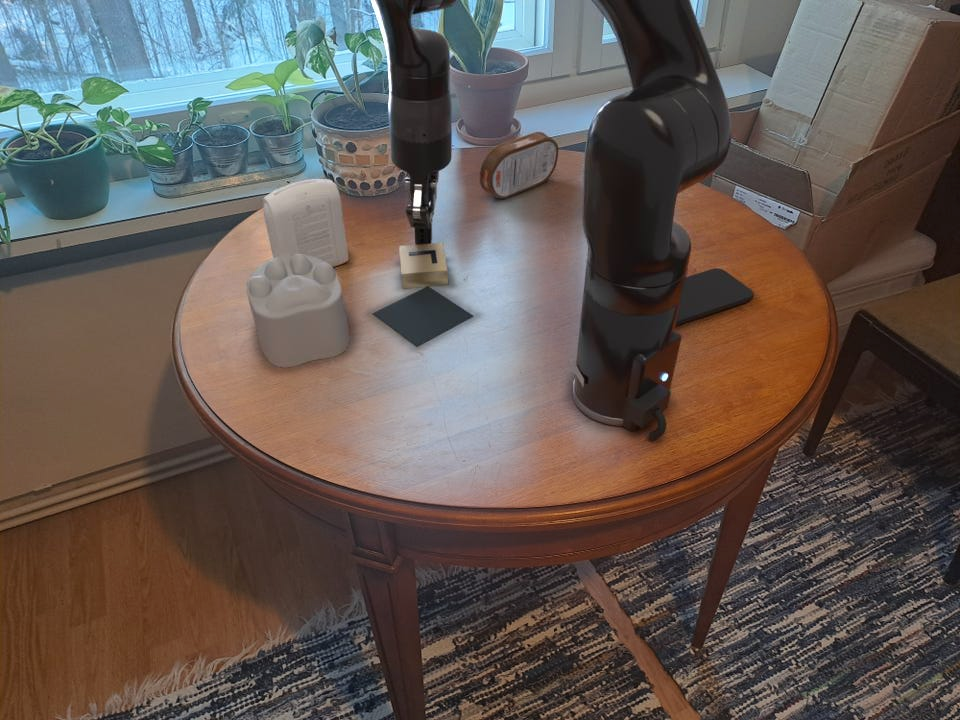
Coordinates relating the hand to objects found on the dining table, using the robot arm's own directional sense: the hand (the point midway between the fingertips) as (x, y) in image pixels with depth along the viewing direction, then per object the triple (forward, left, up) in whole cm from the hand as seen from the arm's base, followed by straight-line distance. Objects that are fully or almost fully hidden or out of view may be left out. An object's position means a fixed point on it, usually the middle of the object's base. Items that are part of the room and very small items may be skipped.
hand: (423, 243), depth 97 cm
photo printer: (+9, +13, -3) cm, 16 cm away
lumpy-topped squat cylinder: (-3, +21, -3) cm, 22 cm away
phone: (-31, -18, -2) cm, 36 cm away
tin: (+6, -24, -3) cm, 25 cm away
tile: (-3, +3, -2) cm, 5 cm away
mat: (-10, +9, -2) cm, 14 cm away
